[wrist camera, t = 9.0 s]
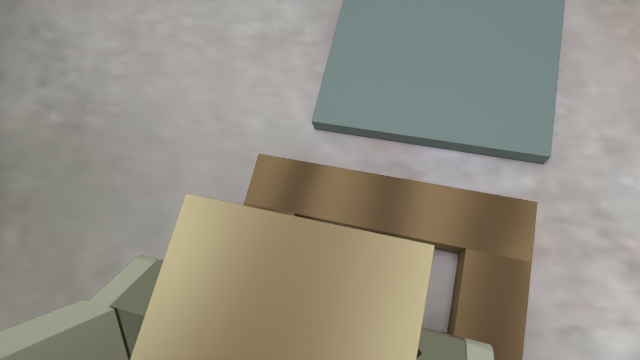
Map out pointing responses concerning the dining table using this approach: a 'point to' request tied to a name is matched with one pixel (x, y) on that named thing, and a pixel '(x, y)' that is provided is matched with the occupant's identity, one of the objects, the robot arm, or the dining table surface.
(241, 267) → the maple peg
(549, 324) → the dining table surface
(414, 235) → the pocket block
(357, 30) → the slate pad
